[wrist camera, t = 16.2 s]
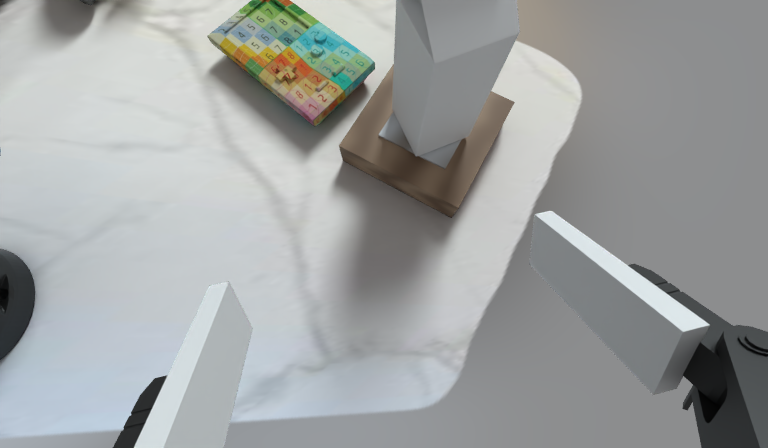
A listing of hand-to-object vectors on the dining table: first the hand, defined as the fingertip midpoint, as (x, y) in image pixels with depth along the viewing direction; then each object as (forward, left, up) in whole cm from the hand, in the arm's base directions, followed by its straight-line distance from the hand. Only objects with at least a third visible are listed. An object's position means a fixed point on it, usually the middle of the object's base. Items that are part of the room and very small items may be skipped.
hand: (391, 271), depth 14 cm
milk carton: (-6, +20, -21) cm, 30 cm away
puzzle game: (-27, +22, -25) cm, 43 cm away
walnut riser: (-6, +20, -25) cm, 33 cm away
